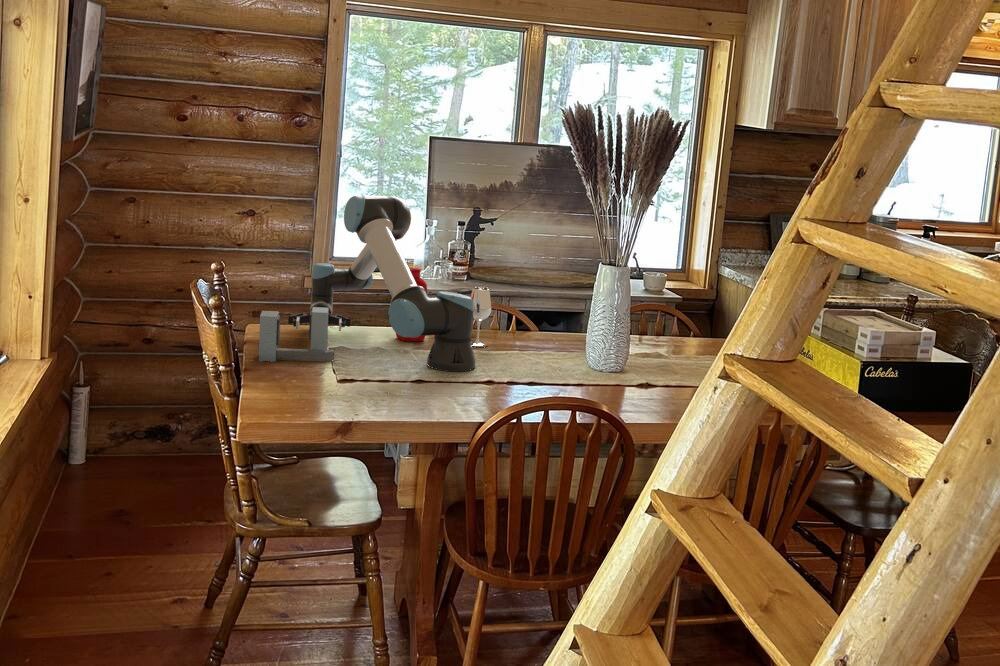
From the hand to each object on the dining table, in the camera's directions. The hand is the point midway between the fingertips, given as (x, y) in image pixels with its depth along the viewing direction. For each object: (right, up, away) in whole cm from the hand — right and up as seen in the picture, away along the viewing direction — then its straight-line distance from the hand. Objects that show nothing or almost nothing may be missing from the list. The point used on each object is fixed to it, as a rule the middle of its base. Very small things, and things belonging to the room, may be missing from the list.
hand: (318, 326), depth 337 cm
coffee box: (+43, -3, +44) cm, 61 cm away
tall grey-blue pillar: (0, -9, -3) cm, 9 cm away
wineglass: (+50, -7, +25) cm, 57 cm away
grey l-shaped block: (-4, -10, -13) cm, 17 cm away
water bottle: (+26, -5, +27) cm, 38 cm away
